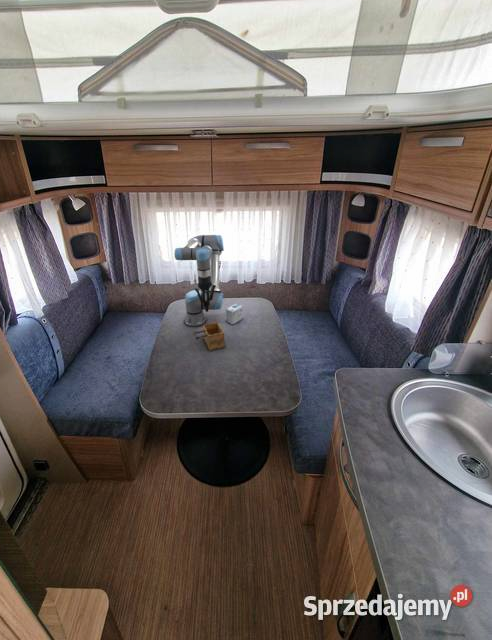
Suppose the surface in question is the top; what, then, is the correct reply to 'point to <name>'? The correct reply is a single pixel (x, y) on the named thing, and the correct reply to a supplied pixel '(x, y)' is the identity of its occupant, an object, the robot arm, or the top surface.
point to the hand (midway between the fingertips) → (206, 310)
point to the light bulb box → (234, 313)
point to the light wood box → (212, 335)
